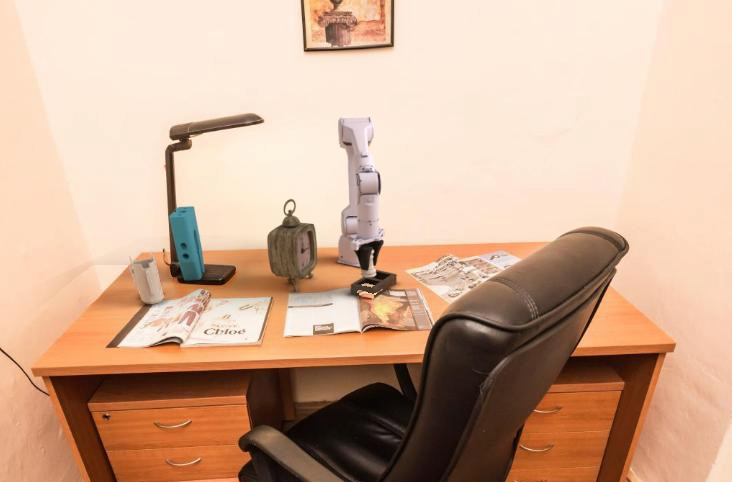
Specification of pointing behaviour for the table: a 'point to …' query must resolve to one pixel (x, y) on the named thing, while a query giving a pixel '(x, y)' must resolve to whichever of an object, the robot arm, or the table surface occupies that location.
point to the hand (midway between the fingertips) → (368, 267)
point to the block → (187, 242)
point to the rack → (375, 283)
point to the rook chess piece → (371, 270)
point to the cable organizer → (147, 280)
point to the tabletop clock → (292, 248)
